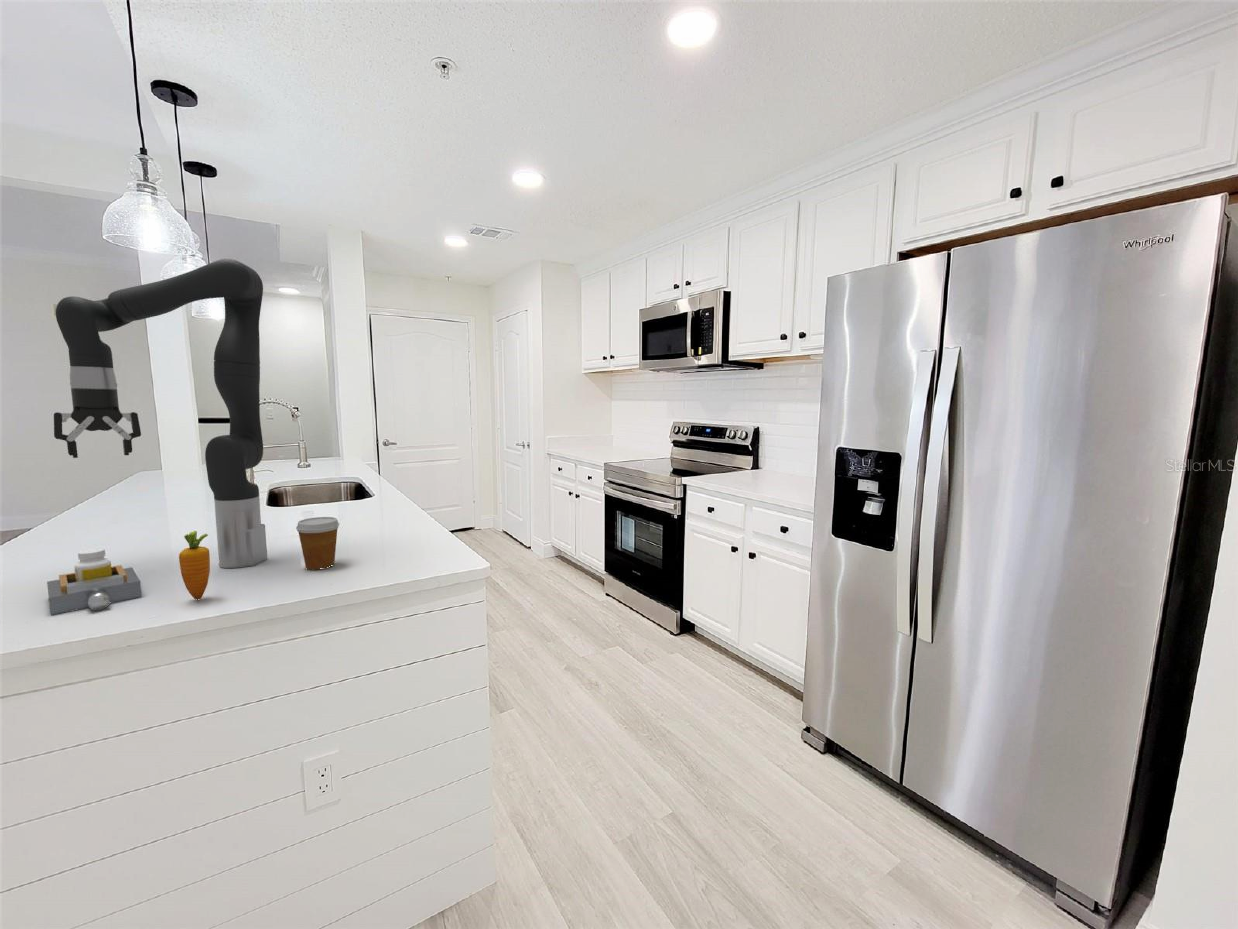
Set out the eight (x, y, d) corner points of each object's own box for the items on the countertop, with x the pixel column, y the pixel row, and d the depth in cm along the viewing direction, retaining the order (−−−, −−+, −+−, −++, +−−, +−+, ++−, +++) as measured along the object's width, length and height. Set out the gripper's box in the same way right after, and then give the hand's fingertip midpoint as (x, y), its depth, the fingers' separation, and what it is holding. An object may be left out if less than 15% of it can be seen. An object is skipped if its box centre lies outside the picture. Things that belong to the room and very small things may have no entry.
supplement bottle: (121, 591, 111) (116, 547, 110) (93, 600, 106) (88, 555, 105) (98, 590, 112) (94, 546, 111) (70, 599, 106) (64, 554, 105)
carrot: (194, 595, 110) (188, 527, 108) (218, 595, 110) (213, 527, 108) (176, 605, 105) (170, 533, 103) (202, 604, 105) (196, 533, 103)
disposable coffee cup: (295, 574, 124) (292, 526, 122) (301, 563, 132) (298, 518, 131) (339, 570, 128) (337, 523, 126) (342, 559, 136) (340, 515, 135)
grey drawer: (133, 582, 117) (131, 561, 116) (144, 602, 106) (142, 578, 105) (48, 597, 107) (46, 574, 106) (51, 621, 96) (48, 596, 95)
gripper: (134, 388, 126) (140, 453, 128) (48, 386, 115) (56, 457, 117) (138, 388, 121) (144, 455, 123) (49, 386, 111) (57, 460, 113)
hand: (101, 456), depth 120 cm, fingers open, 8 cm apart
